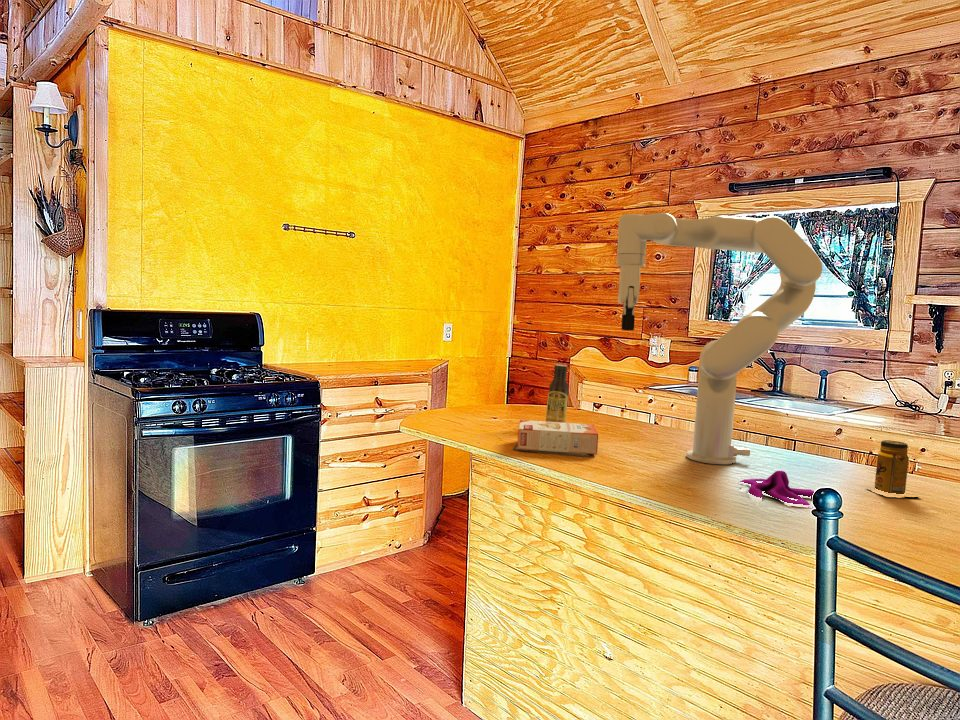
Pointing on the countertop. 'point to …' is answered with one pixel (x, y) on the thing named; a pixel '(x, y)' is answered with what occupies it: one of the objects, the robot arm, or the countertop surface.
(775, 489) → the cloth
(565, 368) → the sauce bottle
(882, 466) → the condiment
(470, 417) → the countertop surface
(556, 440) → the cracker box
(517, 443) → the mat
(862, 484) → the countertop surface
